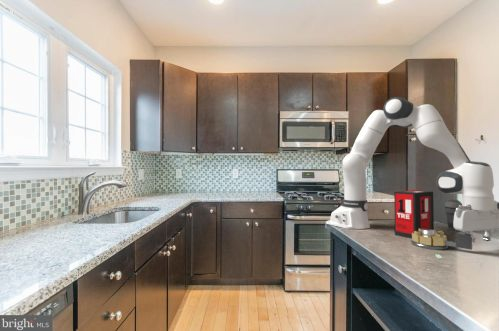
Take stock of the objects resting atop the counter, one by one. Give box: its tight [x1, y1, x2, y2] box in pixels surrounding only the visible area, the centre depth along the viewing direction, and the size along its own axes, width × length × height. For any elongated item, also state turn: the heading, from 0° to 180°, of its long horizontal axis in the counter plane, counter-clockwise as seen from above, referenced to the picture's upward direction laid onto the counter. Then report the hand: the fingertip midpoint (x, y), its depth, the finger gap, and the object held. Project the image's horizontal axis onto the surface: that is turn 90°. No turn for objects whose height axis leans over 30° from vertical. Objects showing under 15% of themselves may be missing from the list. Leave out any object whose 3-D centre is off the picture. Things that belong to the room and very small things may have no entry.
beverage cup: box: [444, 194, 463, 233], centre depth 124 cm, size 7×7×20 cm
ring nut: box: [411, 228, 473, 251], centre depth 98 cm, size 18×11×5 cm, turn 43°
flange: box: [410, 229, 449, 251], centre depth 101 cm, size 12×12×6 cm
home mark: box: [435, 254, 443, 260], centre depth 87 cm, size 4×1×1 cm, turn 155°
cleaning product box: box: [393, 189, 435, 240], centre depth 118 cm, size 16×9×20 cm, turn 121°
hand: (478, 241), depth 95 cm, fingers open, 7 cm apart
